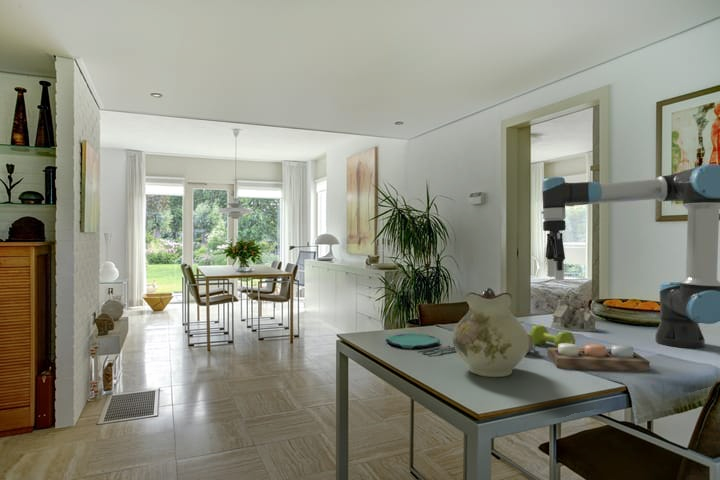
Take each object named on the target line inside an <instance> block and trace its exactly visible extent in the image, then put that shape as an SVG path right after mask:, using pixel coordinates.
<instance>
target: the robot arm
mask: <svg viewBox="0 0 720 480" xmlns="http://www.w3.org/2000/svg"><path fill="white" fill-rule="evenodd" d="M541 188H542V190H541V193H542V211H541V213H540V214H542V219H543V220H544V221H543V222H542V230H543V232H549V233H547V234H546V237H547V238H546V248H545V249H546V250H545V258H546V265H547V266H546V269H547V270H546V272H547V274H546V275H547V277H549V278H550V277H553V278H554V280H555V281H556V280H557V281H564V280H565V279H564V277H565V273H564V271H565V270H564V269H565V268H564V261H565V260H566V256H565V247H564V240H563V232H562V231H566V227H567V226H566V220H565V219H566V216H567V215H566V207H575V206H584V205H585V206H586V205H598V204H607V203H609V204H610V203H611V204H612V203H624V202H625V203H626V202H637V201H652V200H657V201H658V202H682V206H683V207H684V208H686V209H687V228H686V229H687V231H686V234H687V235H686V236H687V237H686V259H685V260H686V261H685V263H686V264H685V265H686V266H685V278H684V279H682V280H681V281H679V282H662V283H661V284H660V285H659V286H660V287H659V311H660V314H659V315H660V322H659V325H658V327H657V330H656V333H655V340H654V341H655V342H656V343H657V344H660V345H661V344H662V345H666V346H670V347H675V348H676V347H678V348H689V349H690V348H691V349H692V348H693V349H698V348H703V347H705V346H706V342H705V341H706V340H705V337H704V335H703V332H702V329H701V327H700V325H699V324H703V325H704V324H705V325H712V324H716V323H719V322H720V281H719V280H718V259H719V257H718V256H719V255H718V253H719V252H718V251H719V230H720V229H719V227H720V226H719V225H720V224H719V223H720V165H719V164H715V163H714V164H713V163H712V164H705V165H704V164H703V165H699V166H697V167H694V168H693V167H692V168H690V169H686V170H683V171H680V172H676V173H672V174H669V175H661V176H657V177H655V179H643V180H633V181H621V182H609V183H608V182H607V183H599V182H598V181H584V182H566V181H565V178H564V177H562V176H552V177H547V178H544V179H543V180H542V187H541ZM560 231H561V232H560Z"/></svg>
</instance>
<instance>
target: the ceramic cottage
mask: <svg viewBox="0 0 720 480" xmlns="http://www.w3.org/2000/svg"><path fill="white" fill-rule="evenodd" d="M552 316H553V318H552V322H551V324H550V328H551V329H555V330H560V331H568V332H581V333H584V332H585V333H588V332H596V331H597V328H596V322H597V318H596V317H595V316H593V314H592V313H591V311H590V307H587V308H582V306H581V305H580V303H579V301H578V299H575V296H574V294H570V297H569V298H568V299H567V301H566V304H564V301H563V299H558V300H557V305H556V309H555V311H554V312H553V314H552Z"/></svg>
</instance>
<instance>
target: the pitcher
mask: <svg viewBox="0 0 720 480" xmlns="http://www.w3.org/2000/svg"><path fill="white" fill-rule="evenodd" d="M465 298H466V299H465V300H466V303H467V304H468V305H469V309H468V311H467V313H466V314H465V315H464V316H463V317H461V319H460V320H459V321H458V322H457V324H456V325H455V328H454V330H453V332H452V344H453V346H454V347H455V349H454V350H456V352H455V353H456V354H457V355H458V356H459V358H460V359H461V360H462V361H463V362H464V363H465V364H466V365H467V366H468V368H469V372H471V373H472V374H475V375H477V376H481V377H486V378H502V377H503V378H504V377H507V376H510V375H512V374H513V370H514V368H515V367H517V366H518V365H519V363H520V362H521V361H523V359H524V358H525V356H526V354H528V353H527V351H528V347H529V337H528V335H529V333H528V331H527V330H526V329H525V327H524V326H523V324H522V323H521V322H520V321H519V320H518V319H517V318H516V317H515V315H513V314H512V312H511V310H510V306H511V304H512V302H513V301H512V298H513V295H512V294H511V293H509V292H502V293H499V294H495V291H494V290H493V289H492V288H491V287H487V288H485V289H484V290H483V292H481V294H479V293H476V292H469V293H467V294H466V296H465Z"/></svg>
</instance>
